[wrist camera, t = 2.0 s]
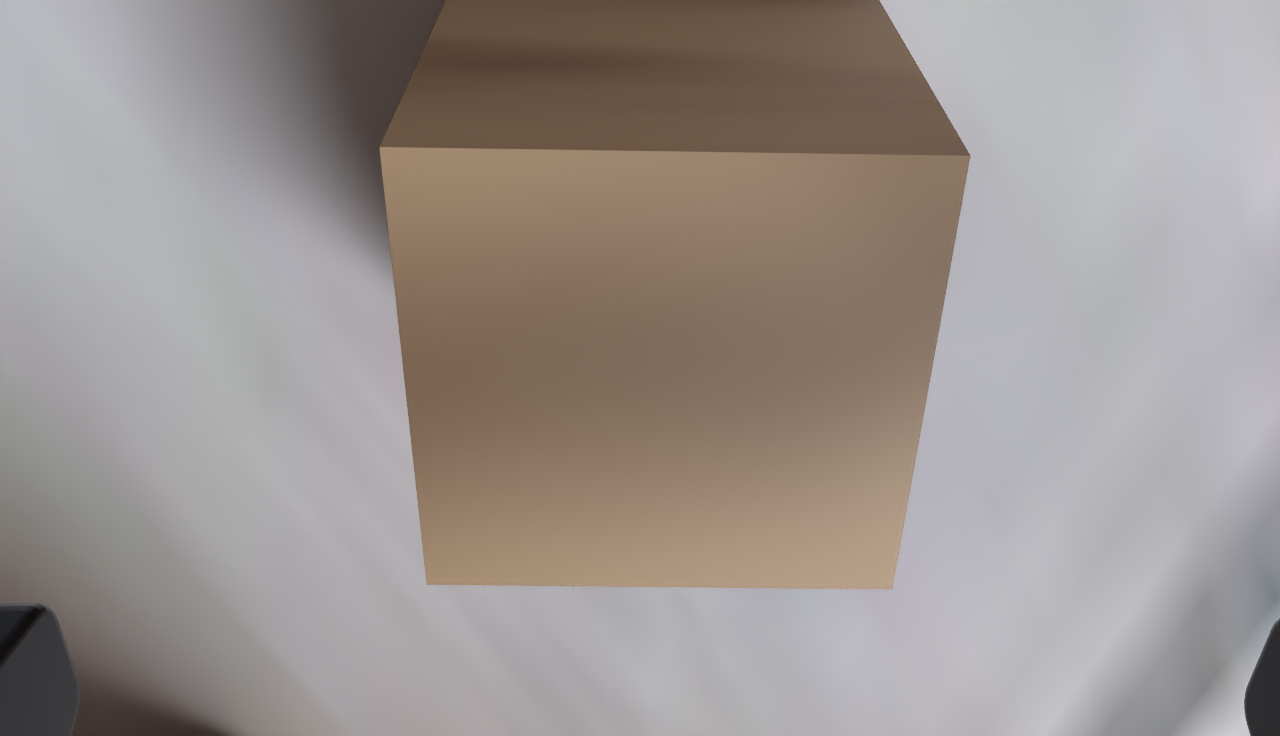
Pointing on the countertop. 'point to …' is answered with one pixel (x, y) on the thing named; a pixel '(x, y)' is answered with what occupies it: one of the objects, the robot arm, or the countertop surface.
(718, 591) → the countertop surface
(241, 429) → the countertop surface
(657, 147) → the walnut block
